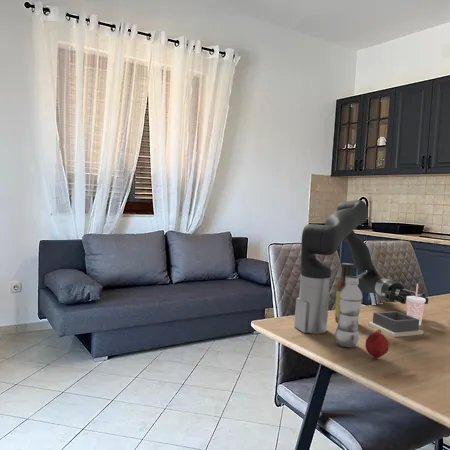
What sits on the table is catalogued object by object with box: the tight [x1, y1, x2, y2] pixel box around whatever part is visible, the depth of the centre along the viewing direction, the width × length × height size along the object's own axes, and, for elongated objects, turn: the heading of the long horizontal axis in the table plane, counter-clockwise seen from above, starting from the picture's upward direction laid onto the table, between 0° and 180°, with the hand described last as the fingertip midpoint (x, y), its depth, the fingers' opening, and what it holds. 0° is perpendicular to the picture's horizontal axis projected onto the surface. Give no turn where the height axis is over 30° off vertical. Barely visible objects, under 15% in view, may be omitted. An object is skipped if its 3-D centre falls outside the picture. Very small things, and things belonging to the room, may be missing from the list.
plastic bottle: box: [334, 275, 363, 348], centre depth 124 cm, size 6×7×20 cm
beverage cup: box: [406, 283, 426, 326], centre depth 150 cm, size 6×6×14 cm
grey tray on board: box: [367, 310, 424, 338], centre depth 143 cm, size 12×12×4 cm
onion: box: [364, 329, 390, 360], centre depth 116 cm, size 6×6×8 cm
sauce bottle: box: [334, 262, 355, 323], centre depth 148 cm, size 7×6×20 cm
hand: (416, 301), depth 150 cm, fingers open, 8 cm apart
